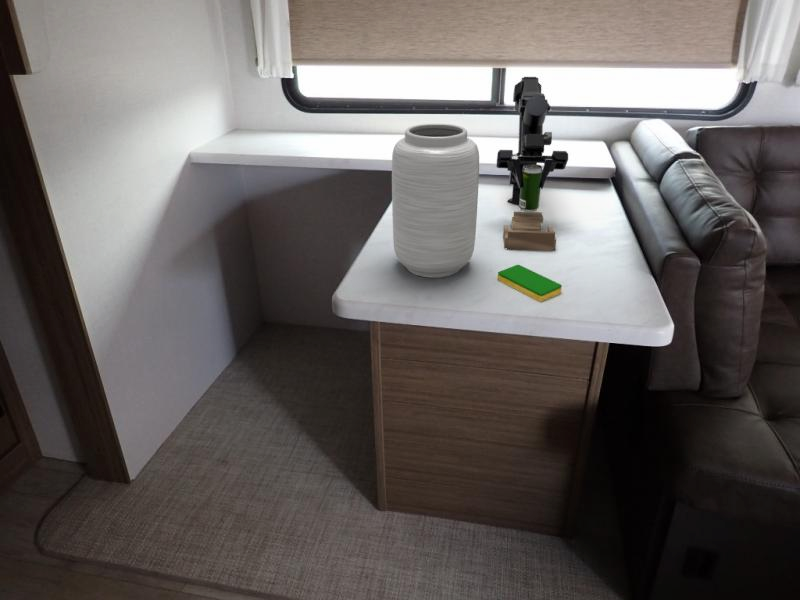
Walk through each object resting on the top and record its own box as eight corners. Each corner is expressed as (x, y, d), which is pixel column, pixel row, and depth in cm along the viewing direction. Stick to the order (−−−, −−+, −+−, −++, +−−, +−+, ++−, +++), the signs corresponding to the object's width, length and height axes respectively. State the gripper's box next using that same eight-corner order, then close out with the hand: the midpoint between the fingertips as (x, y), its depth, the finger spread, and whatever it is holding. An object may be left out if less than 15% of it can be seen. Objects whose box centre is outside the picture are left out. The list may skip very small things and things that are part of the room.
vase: (382, 256, 150) (378, 124, 133) (452, 244, 156) (457, 117, 140) (411, 290, 133) (410, 145, 117) (488, 275, 140) (498, 135, 123)
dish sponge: (517, 272, 142) (518, 263, 140) (561, 294, 132) (562, 285, 131) (496, 280, 138) (497, 271, 137) (540, 303, 128) (541, 294, 127)
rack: (503, 235, 161) (504, 218, 158) (551, 236, 160) (553, 220, 157) (504, 249, 153) (506, 231, 150) (555, 251, 151) (557, 233, 149)
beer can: (530, 214, 156) (535, 171, 151) (514, 209, 160) (518, 166, 154) (542, 209, 160) (547, 166, 154) (526, 204, 163) (530, 162, 157)
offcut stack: (511, 226, 167) (512, 211, 165) (539, 226, 166) (541, 212, 164) (512, 232, 162) (513, 217, 160) (541, 233, 161) (543, 218, 159)
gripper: (500, 119, 153) (498, 173, 149) (572, 120, 151) (572, 174, 147) (497, 141, 163) (495, 192, 159) (564, 142, 161) (564, 193, 157)
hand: (531, 187), depth 155 cm, fingers closed on beer can, 5 cm apart
